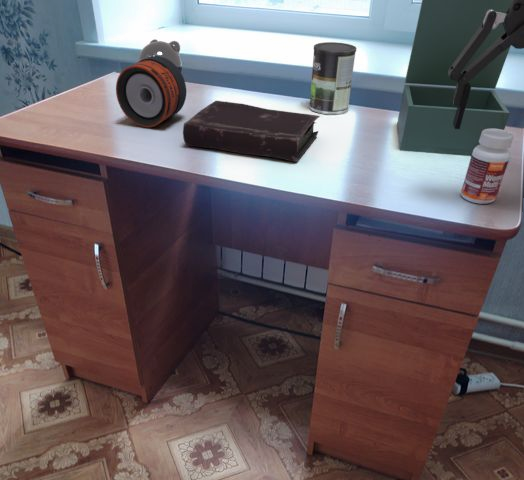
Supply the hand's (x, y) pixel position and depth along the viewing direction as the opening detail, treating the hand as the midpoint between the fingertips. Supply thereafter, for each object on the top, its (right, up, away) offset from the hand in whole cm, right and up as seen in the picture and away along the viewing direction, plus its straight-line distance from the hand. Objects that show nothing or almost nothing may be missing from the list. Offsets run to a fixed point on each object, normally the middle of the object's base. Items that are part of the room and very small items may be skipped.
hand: (497, 130), depth 84 cm
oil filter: (-65, +18, +37) cm, 77 cm away
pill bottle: (0, -9, +8) cm, 12 cm away
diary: (-41, +9, +27) cm, 50 cm away
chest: (+2, +11, +30) cm, 32 cm away
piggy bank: (-67, +37, +58) cm, 96 cm away
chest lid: (+3, +28, +23) cm, 37 cm away
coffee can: (-22, +26, +47) cm, 58 cm away
